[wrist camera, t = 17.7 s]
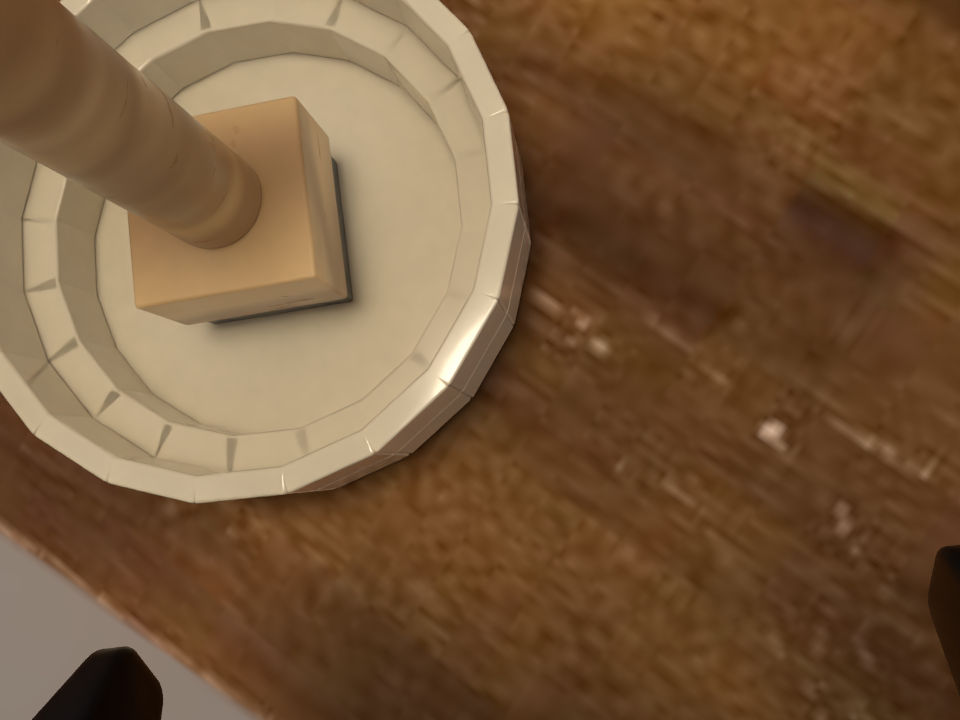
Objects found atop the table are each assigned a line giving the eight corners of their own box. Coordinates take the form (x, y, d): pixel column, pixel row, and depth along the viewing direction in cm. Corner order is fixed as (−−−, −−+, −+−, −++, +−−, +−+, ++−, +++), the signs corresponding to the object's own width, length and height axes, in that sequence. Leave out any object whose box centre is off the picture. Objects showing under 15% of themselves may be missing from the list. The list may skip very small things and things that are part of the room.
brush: (362, 308, 22) (-20, 54, 8) (207, 333, 22) (-391, 133, 9) (343, 153, 22) (-43, -322, 9) (193, 181, 23) (-390, -227, 9)
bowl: (367, 591, 21) (314, 620, 17) (-26, 341, 24) (-150, 316, 20) (623, 142, 22) (628, 72, 18) (213, -58, 24) (139, -160, 20)
